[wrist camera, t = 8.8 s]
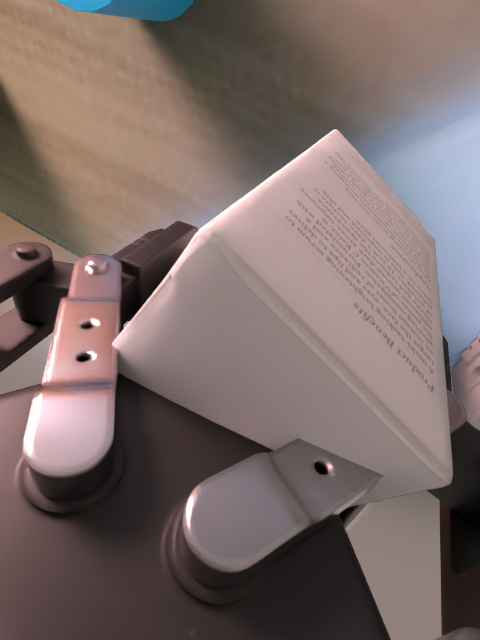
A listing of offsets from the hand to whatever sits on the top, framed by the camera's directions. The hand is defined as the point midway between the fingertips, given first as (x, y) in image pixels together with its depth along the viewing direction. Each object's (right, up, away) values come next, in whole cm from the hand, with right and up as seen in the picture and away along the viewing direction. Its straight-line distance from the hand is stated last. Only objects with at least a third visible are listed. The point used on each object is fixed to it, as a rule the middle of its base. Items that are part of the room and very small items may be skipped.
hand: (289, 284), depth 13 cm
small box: (+1, +2, +3) cm, 3 cm away
